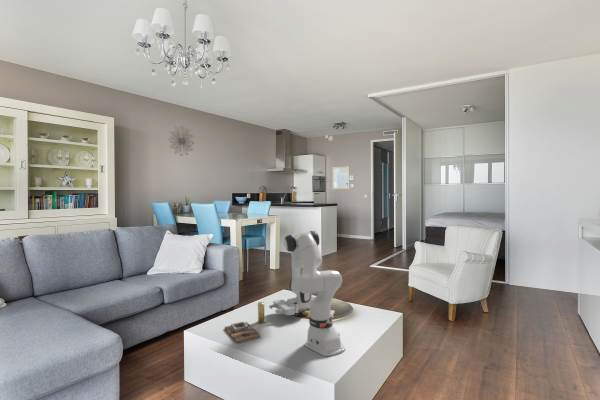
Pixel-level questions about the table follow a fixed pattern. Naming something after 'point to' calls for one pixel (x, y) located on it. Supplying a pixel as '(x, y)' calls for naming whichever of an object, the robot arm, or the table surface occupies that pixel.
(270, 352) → the table surface
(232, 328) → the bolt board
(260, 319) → the brass peg
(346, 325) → the table surface
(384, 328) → the table surface
